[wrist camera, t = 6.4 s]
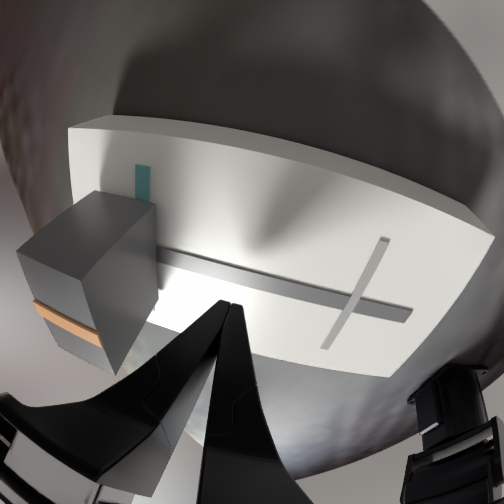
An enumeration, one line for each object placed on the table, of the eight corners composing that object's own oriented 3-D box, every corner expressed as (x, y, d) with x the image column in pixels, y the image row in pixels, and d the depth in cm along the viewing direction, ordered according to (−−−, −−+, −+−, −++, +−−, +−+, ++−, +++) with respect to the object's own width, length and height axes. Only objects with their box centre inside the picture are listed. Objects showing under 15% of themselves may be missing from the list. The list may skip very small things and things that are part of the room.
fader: (157, 204, 10) (79, 283, 6) (159, 299, 12) (115, 378, 9) (93, 189, 10) (13, 252, 6) (106, 280, 13) (56, 347, 9)
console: (465, 205, 10) (496, 238, 8) (383, 339, 16) (389, 378, 14) (109, 114, 11) (66, 128, 9) (118, 270, 17) (93, 301, 14)
